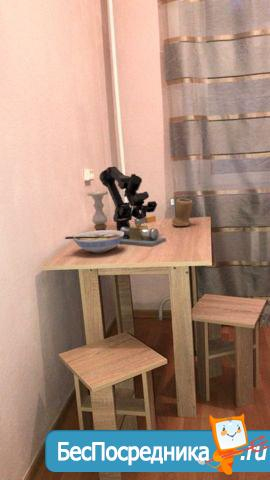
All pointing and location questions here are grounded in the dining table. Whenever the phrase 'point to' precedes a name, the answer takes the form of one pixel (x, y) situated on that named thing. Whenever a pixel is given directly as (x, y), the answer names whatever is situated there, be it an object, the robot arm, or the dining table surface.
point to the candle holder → (98, 210)
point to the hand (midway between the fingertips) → (144, 222)
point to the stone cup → (182, 212)
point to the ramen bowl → (98, 240)
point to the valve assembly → (141, 236)
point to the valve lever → (145, 220)
